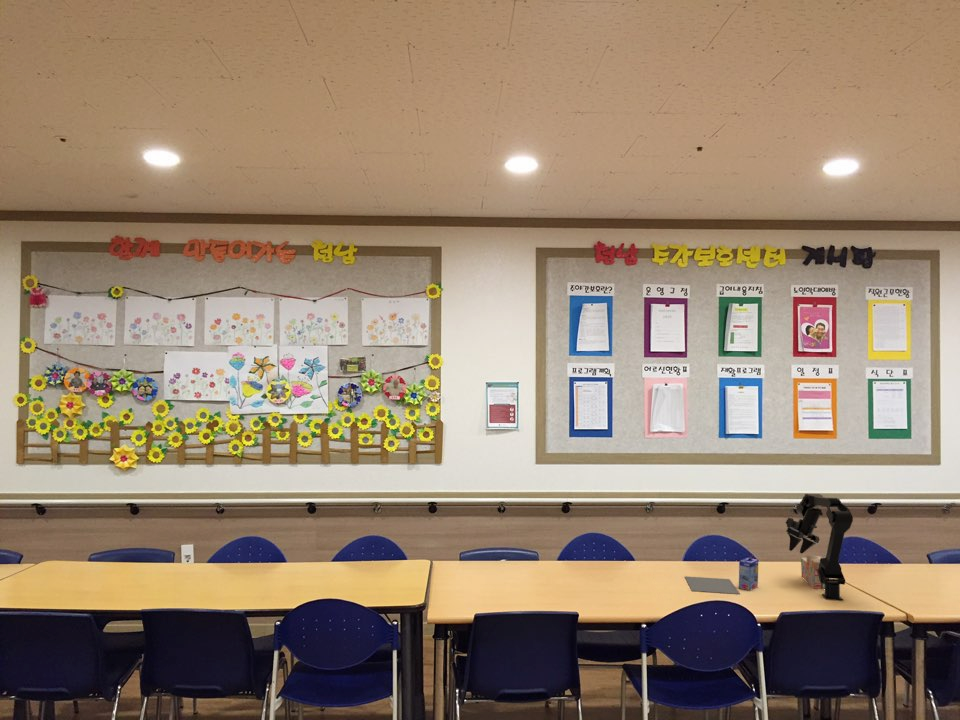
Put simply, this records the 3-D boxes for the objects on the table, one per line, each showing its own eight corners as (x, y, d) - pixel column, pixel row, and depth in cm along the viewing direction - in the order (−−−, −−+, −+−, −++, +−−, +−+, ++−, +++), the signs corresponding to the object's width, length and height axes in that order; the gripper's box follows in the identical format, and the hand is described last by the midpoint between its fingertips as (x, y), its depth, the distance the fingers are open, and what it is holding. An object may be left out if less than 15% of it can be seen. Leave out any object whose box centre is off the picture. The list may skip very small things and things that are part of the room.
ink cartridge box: (751, 591, 291) (750, 557, 292) (738, 588, 295) (738, 555, 296) (759, 586, 299) (758, 554, 300) (746, 584, 302) (746, 552, 303)
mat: (740, 594, 286) (740, 593, 286) (691, 591, 290) (691, 590, 290) (729, 579, 310) (729, 579, 310) (684, 576, 313) (684, 576, 313)
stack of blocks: (801, 577, 317) (800, 551, 318) (815, 578, 316) (814, 551, 317) (814, 589, 296) (814, 561, 297) (829, 590, 295) (829, 562, 296)
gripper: (804, 516, 315) (790, 545, 316) (783, 509, 305) (769, 540, 306) (826, 527, 306) (811, 557, 307) (805, 520, 295) (790, 552, 296)
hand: (795, 551), depth 304 cm, fingers open, 9 cm apart
